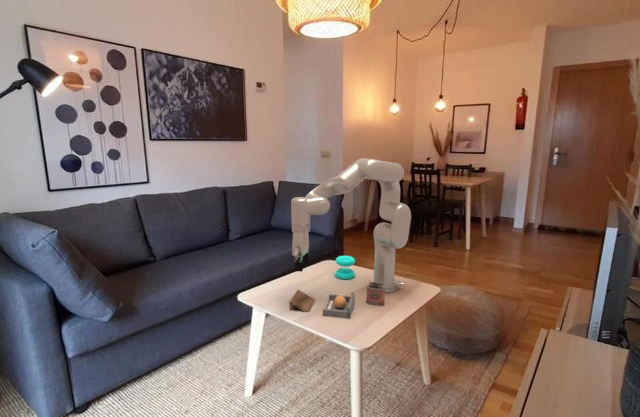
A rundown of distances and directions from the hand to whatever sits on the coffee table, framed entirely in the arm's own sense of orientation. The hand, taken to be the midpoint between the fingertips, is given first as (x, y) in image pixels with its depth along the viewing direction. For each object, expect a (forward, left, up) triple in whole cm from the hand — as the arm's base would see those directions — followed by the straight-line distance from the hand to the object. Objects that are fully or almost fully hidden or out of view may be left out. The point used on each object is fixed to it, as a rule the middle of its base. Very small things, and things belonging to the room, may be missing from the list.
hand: (301, 266), depth 148 cm
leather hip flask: (-31, -8, -17) cm, 36 cm away
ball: (-14, 0, -15) cm, 21 cm away
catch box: (-16, 0, -17) cm, 23 cm away
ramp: (-1, 0, -17) cm, 17 cm away
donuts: (-14, -36, -17) cm, 42 cm away
